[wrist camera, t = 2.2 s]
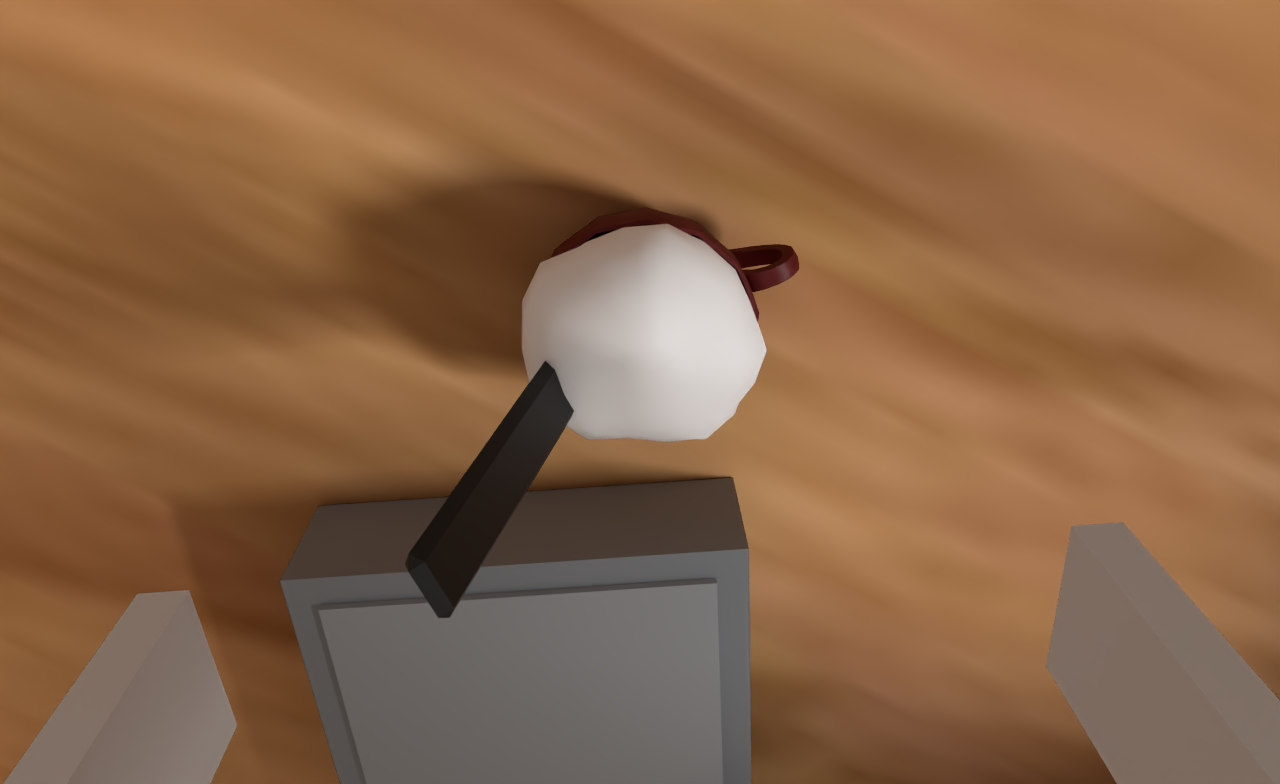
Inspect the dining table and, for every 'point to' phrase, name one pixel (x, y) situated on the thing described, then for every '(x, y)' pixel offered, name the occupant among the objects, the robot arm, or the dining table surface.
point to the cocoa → (609, 367)
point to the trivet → (535, 642)
